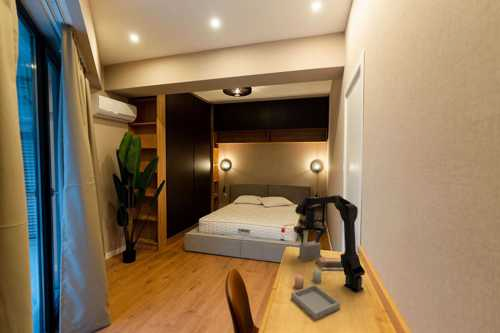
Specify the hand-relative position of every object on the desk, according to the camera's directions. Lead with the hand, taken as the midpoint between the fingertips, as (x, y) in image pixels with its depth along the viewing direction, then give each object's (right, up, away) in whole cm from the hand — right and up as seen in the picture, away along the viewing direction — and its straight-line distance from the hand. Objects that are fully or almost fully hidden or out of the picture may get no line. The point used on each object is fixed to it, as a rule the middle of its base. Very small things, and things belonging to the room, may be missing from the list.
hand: (309, 243), depth 127 cm
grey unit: (+1, -11, +4) cm, 11 cm away
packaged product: (+13, -12, -5) cm, 18 cm away
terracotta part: (-12, -11, -26) cm, 31 cm away
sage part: (-2, -11, -21) cm, 24 cm away
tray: (-8, -12, -38) cm, 40 cm away
